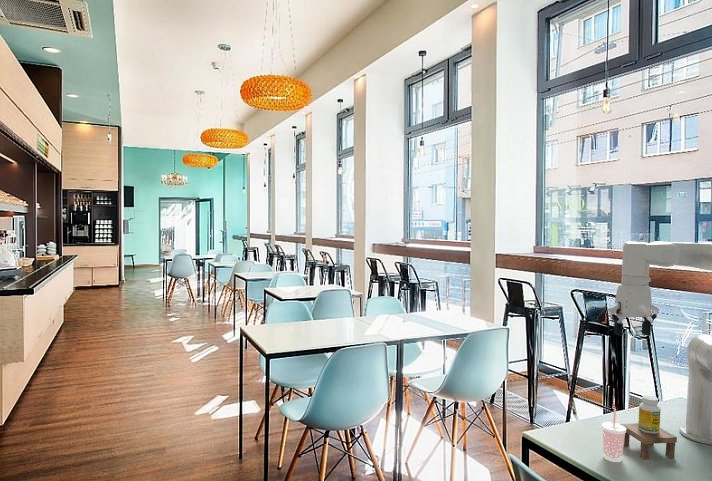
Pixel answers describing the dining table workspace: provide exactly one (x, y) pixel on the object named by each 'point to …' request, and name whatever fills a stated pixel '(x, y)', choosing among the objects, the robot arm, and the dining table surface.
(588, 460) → the dining table surface
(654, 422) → the supplement bottle
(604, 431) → the beverage cup
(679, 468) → the dining table surface
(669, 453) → the footstool
